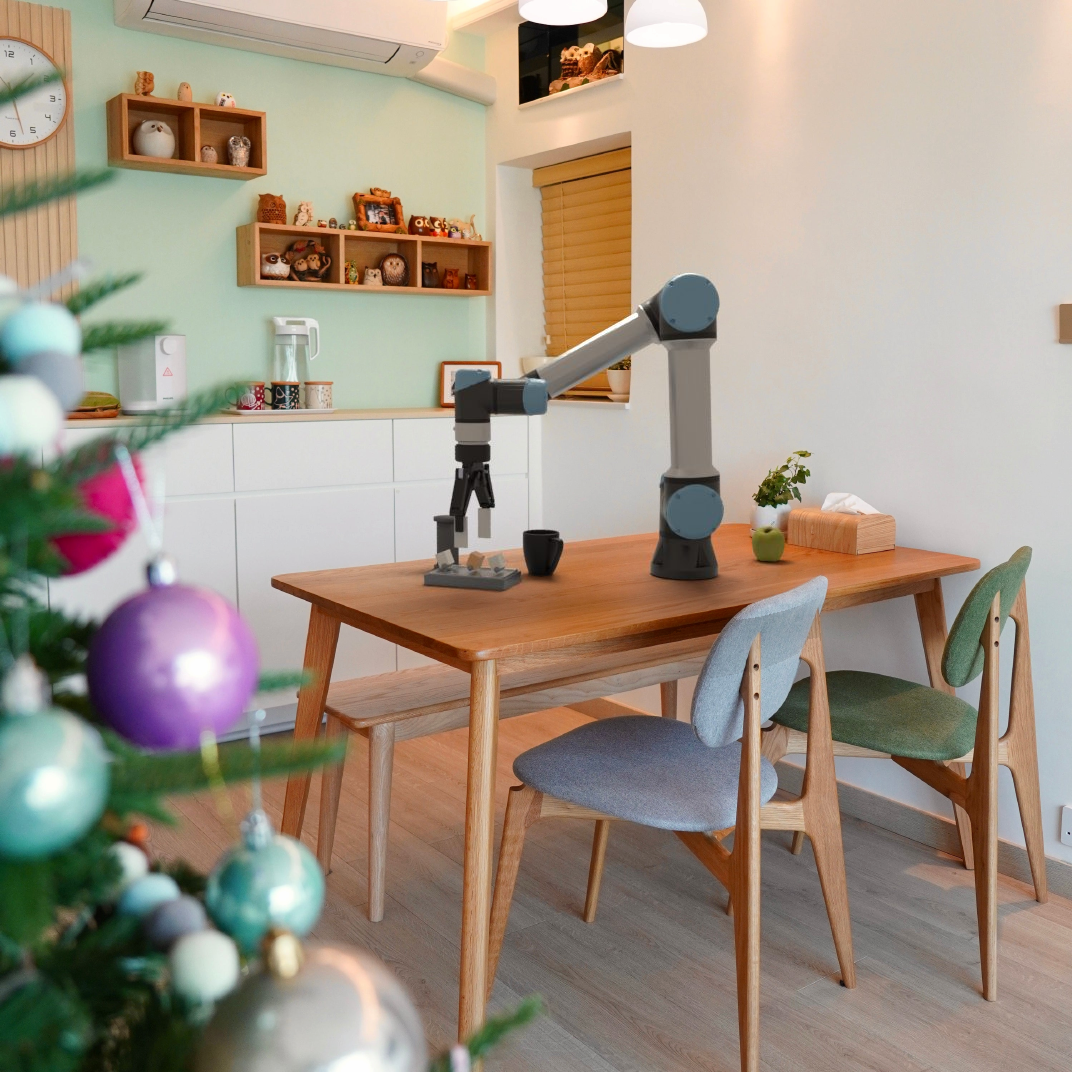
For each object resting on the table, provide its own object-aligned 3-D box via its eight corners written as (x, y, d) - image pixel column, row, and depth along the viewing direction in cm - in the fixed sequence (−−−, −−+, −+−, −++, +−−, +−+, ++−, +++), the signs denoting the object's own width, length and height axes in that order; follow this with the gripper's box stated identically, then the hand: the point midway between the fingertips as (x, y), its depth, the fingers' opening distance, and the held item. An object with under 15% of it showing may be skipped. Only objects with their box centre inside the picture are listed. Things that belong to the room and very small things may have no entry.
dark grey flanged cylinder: (466, 567, 247) (465, 515, 245) (455, 571, 241) (455, 519, 239) (440, 565, 249) (440, 514, 247) (429, 570, 243) (428, 518, 241)
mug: (544, 581, 231) (544, 538, 229) (515, 572, 241) (515, 530, 239) (575, 577, 235) (576, 535, 233) (546, 569, 245) (546, 528, 244)
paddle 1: (456, 564, 231) (450, 548, 231) (449, 567, 228) (443, 551, 228) (446, 567, 232) (440, 552, 232) (440, 570, 229) (434, 555, 229)
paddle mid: (480, 570, 230) (485, 555, 229) (473, 573, 226) (479, 558, 226) (470, 565, 230) (476, 550, 229) (464, 568, 227) (469, 553, 226)
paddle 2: (508, 567, 228) (502, 552, 228) (502, 570, 224) (496, 554, 224) (498, 571, 229) (492, 555, 228) (492, 574, 225) (486, 558, 225)
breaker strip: (521, 580, 231) (521, 568, 231) (503, 590, 221) (503, 577, 220) (444, 575, 237) (444, 563, 236) (424, 584, 226) (424, 571, 226)
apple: (764, 551, 264) (774, 515, 260) (786, 566, 258) (796, 528, 254) (740, 554, 260) (750, 517, 256) (762, 569, 254) (772, 531, 250)
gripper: (477, 439, 237) (477, 533, 240) (432, 446, 214) (433, 550, 217) (509, 439, 235) (509, 535, 238) (467, 447, 211) (467, 552, 215)
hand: (473, 542), depth 227 cm, fingers open, 13 cm apart
